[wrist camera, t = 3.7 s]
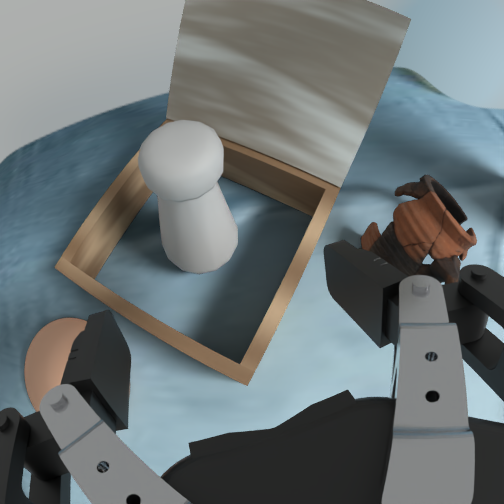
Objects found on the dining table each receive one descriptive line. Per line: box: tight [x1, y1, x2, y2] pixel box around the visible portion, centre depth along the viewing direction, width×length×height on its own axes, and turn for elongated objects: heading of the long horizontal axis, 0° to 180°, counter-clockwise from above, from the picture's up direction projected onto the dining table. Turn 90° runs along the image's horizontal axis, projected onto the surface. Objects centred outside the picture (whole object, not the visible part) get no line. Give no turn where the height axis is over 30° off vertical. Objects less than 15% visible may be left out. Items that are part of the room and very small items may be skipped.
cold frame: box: [54, 0, 411, 386], centre depth 19 cm, size 22×16×17 cm
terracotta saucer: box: [24, 318, 130, 412], centre depth 21 cm, size 10×10×1 cm
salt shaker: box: [138, 120, 238, 274], centre depth 20 cm, size 6×6×13 cm
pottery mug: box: [361, 175, 477, 284], centre depth 24 cm, size 12×10×8 cm
